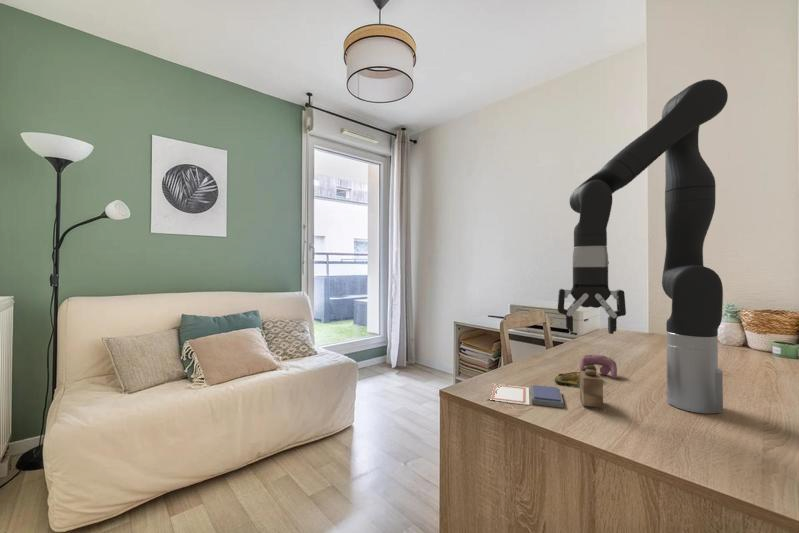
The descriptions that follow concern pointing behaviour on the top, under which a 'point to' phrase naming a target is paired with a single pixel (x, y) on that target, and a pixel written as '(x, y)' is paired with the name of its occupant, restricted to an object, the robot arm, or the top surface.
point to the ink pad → (546, 396)
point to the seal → (571, 377)
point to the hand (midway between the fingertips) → (590, 332)
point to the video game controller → (600, 360)
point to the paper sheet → (511, 394)
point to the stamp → (591, 389)
